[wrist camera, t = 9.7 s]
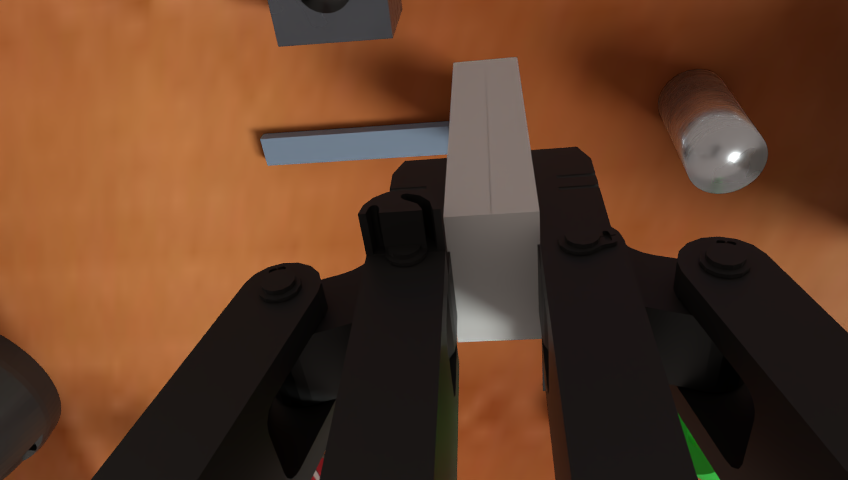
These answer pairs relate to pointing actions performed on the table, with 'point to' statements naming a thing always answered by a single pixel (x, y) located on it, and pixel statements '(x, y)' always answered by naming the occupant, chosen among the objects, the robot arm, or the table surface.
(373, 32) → the speaker
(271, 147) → the blue-grey flat plate
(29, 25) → the table surface
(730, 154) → the spacers
